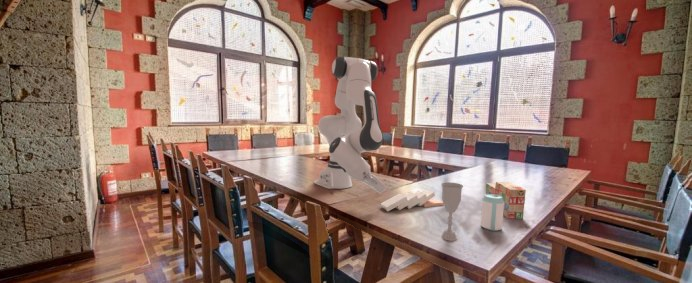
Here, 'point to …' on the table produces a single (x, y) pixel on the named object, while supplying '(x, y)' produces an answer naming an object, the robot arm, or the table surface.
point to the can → (492, 212)
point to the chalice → (451, 206)
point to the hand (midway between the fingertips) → (380, 191)
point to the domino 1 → (394, 202)
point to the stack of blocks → (509, 198)
